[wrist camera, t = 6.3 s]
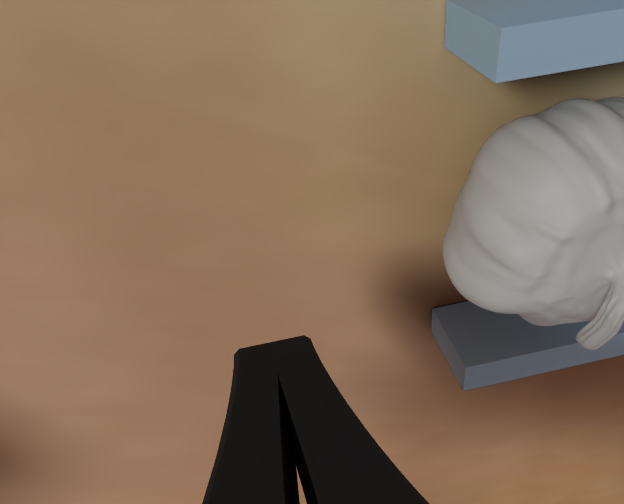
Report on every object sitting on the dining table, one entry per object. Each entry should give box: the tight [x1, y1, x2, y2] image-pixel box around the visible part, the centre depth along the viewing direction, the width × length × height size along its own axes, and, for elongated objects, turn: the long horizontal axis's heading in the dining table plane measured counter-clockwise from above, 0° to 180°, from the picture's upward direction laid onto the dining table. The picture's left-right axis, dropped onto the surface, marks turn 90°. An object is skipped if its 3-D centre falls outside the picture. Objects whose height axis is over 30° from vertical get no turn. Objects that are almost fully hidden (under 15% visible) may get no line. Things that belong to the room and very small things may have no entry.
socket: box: [431, 0, 624, 391], centre depth 14 cm, size 7×10×2 cm
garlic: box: [443, 97, 624, 350], centre depth 13 cm, size 6×5×5 cm
